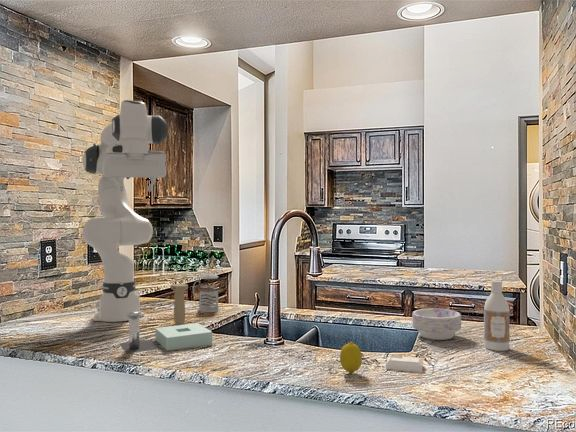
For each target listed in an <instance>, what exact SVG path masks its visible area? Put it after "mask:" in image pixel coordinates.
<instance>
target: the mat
mask: <svg viewBox="0 0 576 432" xmlns="http://www.w3.org/2000/svg"><path fill="white" fill-rule="evenodd" d="M118 344H119V346H120V347H121V348H122V350H123V351H124V352H125V353H126V354H132V353H139V352H145V351H152V350H153V351H154V350H161V349H162V348H161V347H160V346H159V345H158V344H157V343H156V342H155V341H154V340H153V339H152V338H151V339H143V340H140V348H139V349H136V350H130V349H129V341H127V342H120V343H118Z"/></svg>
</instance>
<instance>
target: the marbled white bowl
mask: <svg viewBox="0 0 576 432" xmlns="http://www.w3.org/2000/svg"><path fill="white" fill-rule="evenodd" d="M411 314H412V316H411V317H412V319H411V322H412V328H413V329H415V330H417V331H418V333H419V335H420V336H421V337H422V338H424V339H427V340H433V341H446V340H450V339H452V338H454V336H455V334H456V332H459V331H461V329H462V314H461V313H460V312H458V311H455V310H453V309H447V308H422V309H421V308H420V309H416V310H414V311H412V313H411Z"/></svg>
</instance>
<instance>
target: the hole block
mask: <svg viewBox="0 0 576 432" xmlns="http://www.w3.org/2000/svg"><path fill="white" fill-rule="evenodd" d="M154 329H155V334H154V335H155V336H154V337H155V341H156V342H157V343H159V345H160V346H162V347H163V348H164V349H165V350H166V351H173V350H174V351H175V350H180V349H186V348H187V349H188V348H194V347H201V346H213V331H211V330H210V329H208V328H207V327H206V326H204V325H201V324H200V323H199V322H195V323H187V324H185V323H184V325H177V326H175V325H169V326H162V327H155V328H154Z"/></svg>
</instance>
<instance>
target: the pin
mask: <svg viewBox="0 0 576 432" xmlns="http://www.w3.org/2000/svg"><path fill="white" fill-rule="evenodd" d="M141 312H142V311H141V310H140V311H130V312H127V316H129V320H128V342H129V349H130V350H136V349H139V348H140V341H141V340H140V317H139V316H140V315H141Z"/></svg>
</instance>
